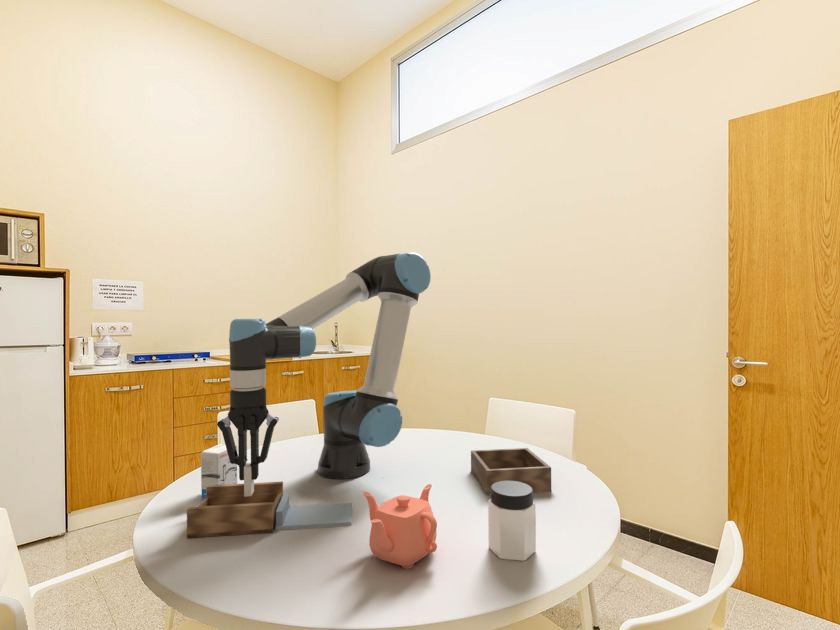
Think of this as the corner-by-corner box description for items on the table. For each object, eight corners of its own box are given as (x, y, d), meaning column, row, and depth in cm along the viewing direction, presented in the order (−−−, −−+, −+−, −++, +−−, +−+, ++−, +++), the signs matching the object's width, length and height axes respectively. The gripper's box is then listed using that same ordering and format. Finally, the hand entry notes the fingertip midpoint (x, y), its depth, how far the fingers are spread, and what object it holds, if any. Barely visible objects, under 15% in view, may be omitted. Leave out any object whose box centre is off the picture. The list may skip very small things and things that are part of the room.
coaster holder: (527, 468, 133) (527, 447, 133) (551, 490, 117) (551, 467, 117) (471, 471, 131) (470, 450, 131) (487, 494, 114) (486, 470, 114)
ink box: (218, 501, 112) (217, 453, 112) (200, 499, 113) (199, 452, 113) (238, 487, 120) (238, 443, 120) (221, 486, 121) (221, 442, 121)
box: (283, 506, 108) (283, 481, 108) (272, 532, 95) (272, 504, 95) (208, 511, 106) (208, 485, 106) (187, 538, 93) (186, 509, 93)
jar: (504, 534, 94) (504, 476, 94) (541, 547, 89) (541, 486, 89) (481, 552, 87) (481, 489, 87) (519, 567, 82) (519, 500, 82)
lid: (352, 507, 108) (352, 490, 108) (351, 527, 98) (351, 508, 98) (283, 511, 106) (283, 493, 106) (275, 532, 96) (275, 512, 96)
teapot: (371, 582, 78) (370, 518, 78) (362, 541, 92) (361, 487, 91) (452, 570, 81) (451, 508, 81) (431, 532, 95) (430, 480, 95)
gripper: (281, 384, 105) (282, 485, 105) (222, 386, 103) (223, 489, 104) (275, 389, 98) (276, 499, 98) (211, 391, 96) (212, 502, 96)
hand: (249, 493), depth 101 cm, fingers closed
